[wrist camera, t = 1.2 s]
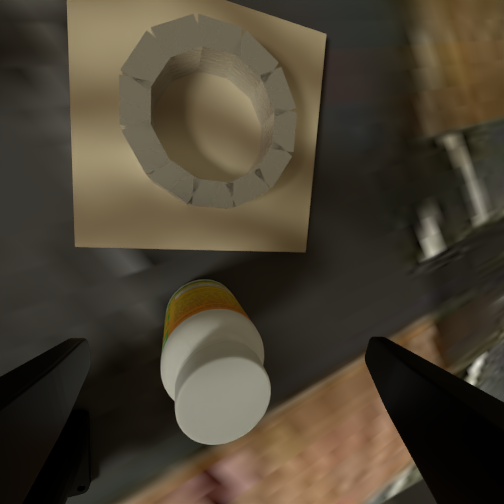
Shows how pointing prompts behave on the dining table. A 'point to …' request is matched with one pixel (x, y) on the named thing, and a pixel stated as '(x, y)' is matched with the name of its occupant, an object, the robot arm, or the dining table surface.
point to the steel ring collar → (218, 64)
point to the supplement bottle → (213, 364)
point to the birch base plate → (185, 134)
